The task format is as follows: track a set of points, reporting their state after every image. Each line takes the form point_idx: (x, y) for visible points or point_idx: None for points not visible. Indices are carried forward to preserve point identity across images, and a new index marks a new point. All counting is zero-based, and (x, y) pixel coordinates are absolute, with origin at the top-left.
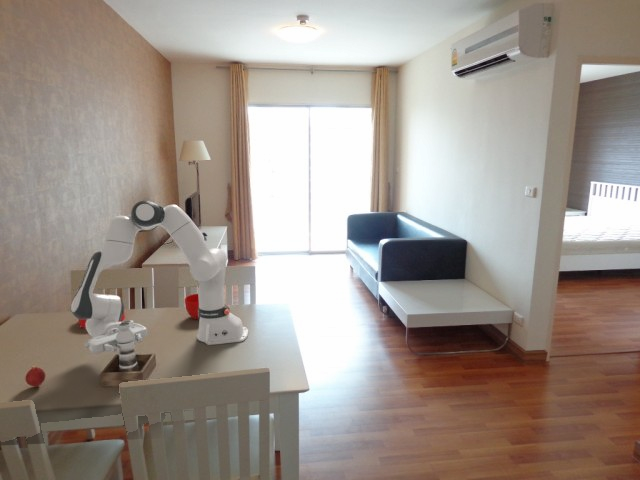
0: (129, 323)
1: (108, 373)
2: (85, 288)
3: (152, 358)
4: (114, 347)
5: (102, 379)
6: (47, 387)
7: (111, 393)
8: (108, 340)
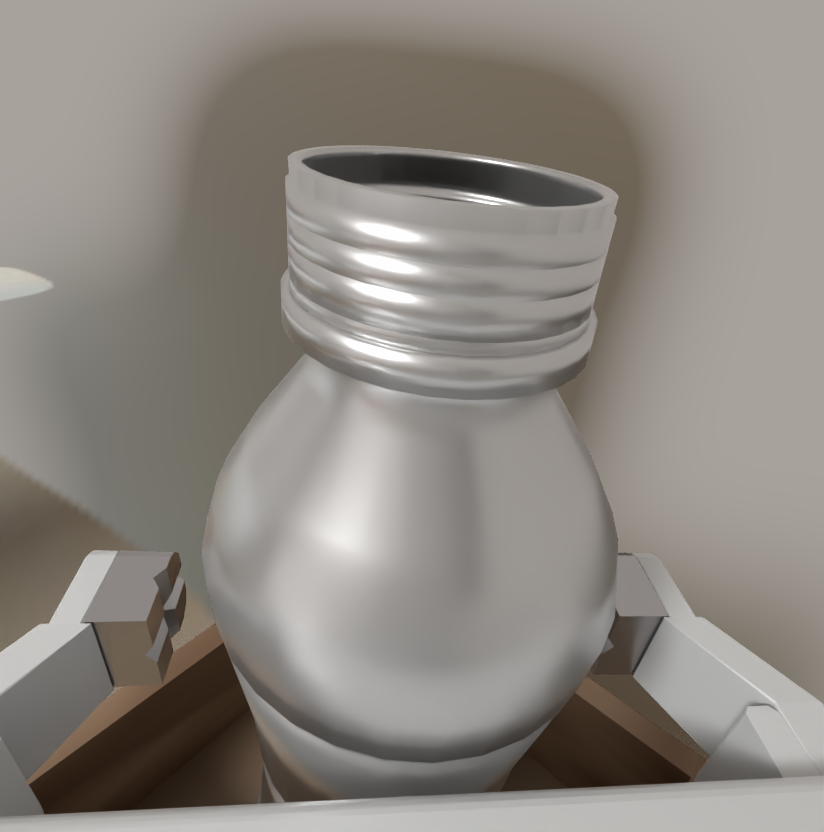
0: (315, 148)
1: (628, 709)
2: None
3: (91, 720)
4: (618, 553)
5: None
6: None
7: None
8: (801, 807)
